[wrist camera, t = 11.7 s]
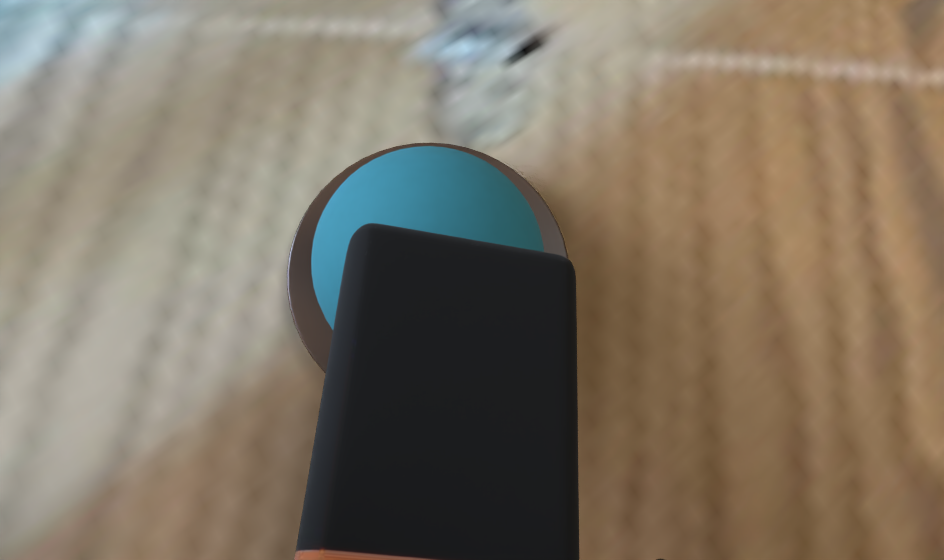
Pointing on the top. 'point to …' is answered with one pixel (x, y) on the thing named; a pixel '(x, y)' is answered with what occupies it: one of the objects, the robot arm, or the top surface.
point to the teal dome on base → (408, 220)
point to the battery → (447, 405)
